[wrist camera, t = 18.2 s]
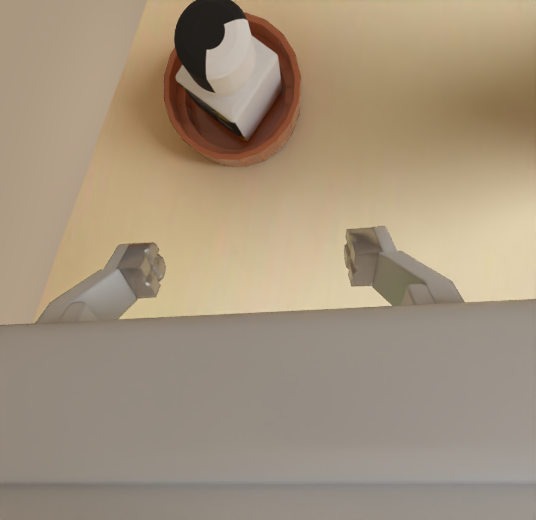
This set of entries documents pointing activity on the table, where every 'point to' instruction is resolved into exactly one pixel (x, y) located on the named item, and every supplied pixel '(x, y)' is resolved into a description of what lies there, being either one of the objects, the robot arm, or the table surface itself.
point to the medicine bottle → (226, 65)
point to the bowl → (219, 137)
